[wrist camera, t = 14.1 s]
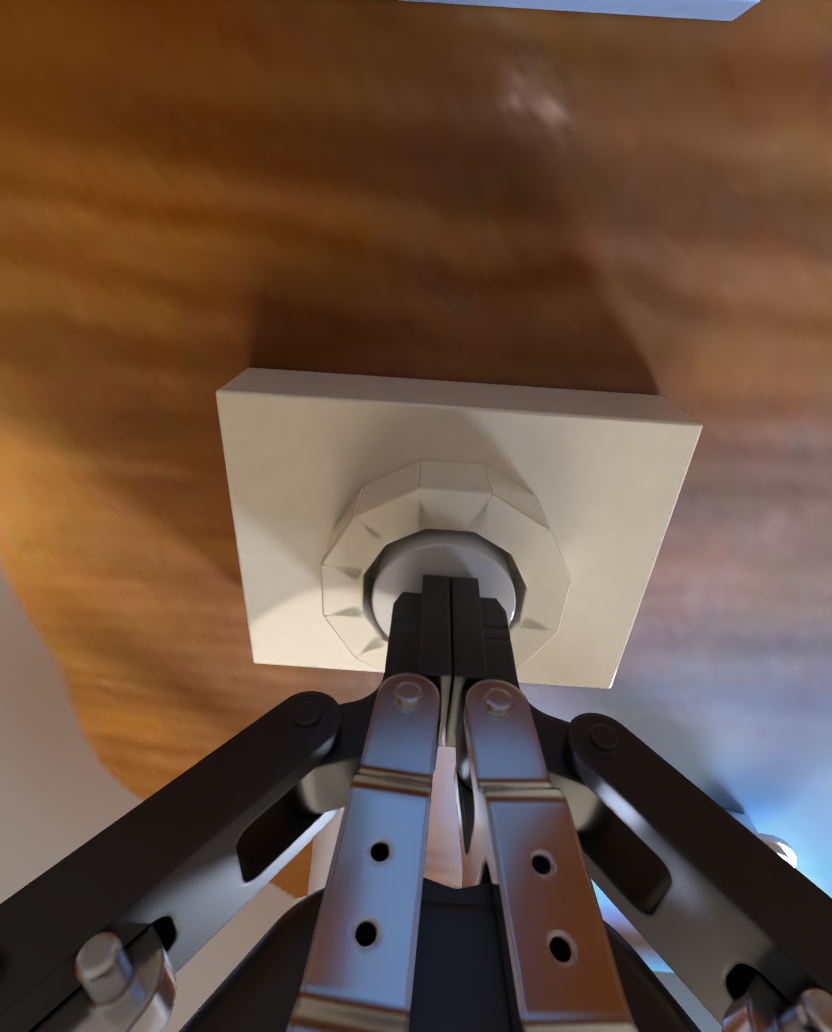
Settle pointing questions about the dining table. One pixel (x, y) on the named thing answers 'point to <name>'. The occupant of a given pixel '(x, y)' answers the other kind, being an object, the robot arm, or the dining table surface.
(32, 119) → the dining table surface
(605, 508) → the dial knob panel
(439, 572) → the grey push button
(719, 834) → the robot arm
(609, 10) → the lever bracket
